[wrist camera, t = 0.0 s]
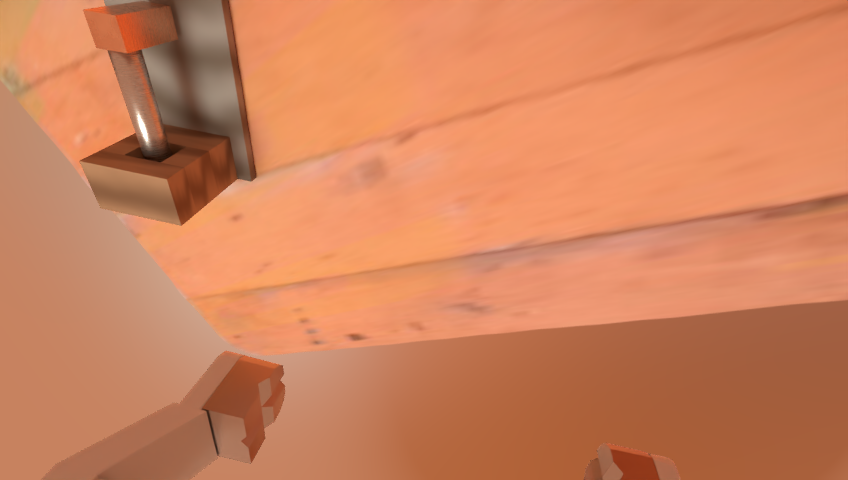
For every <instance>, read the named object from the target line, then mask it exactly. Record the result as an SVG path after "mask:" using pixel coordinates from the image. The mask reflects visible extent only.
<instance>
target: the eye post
mask: <svg viewBox="0 0 848 480" xmlns="http://www.w3.org/2000/svg"><path fill="white" fill-rule="evenodd" d="M137 1H146V2H152V3H157V4H163V5H169V6H170V7H171V11H172V15H173V19H174V24H175V28H176V32H177V36H178V39H177V40H174V41H170V42H166V43H163V44H159V45H156V46H152V47H149V48H145V49H142V53H143V56H144V59H145V63H146V66H147V70H148V73H149V77H150V80H151V83H152V87H153V90H154V94H155V97H156V101H157V104H158V107H159V111H160V114H161V118H162V121H163V125H164V128H165V131H166V135H167V138H168V142H169V145H170V149H171V152H172V156H171V157H169V158H167V159H166V160H164V161H163V162H156V161H151V160H146V159H144V156H143V153H142V150H141V147H140V144H139V141H138V138H137V135H136V133H135V134H133V135H131V136H129V137H127V138H125V139H123V140H121V141H119V142H117V143H115V144H113V145H111V146H109V147H107V148H105V149H103V150H101V151H99V152H97V153H95V154H92V155H90V156H88V157H86V158H84V159H82V160H80V164H81V166H82V168H83V170H84V172H85V175H86V177H87V179H88V181H89V183H90V186H91V188H92V190H93V192H94V195H95V197H96V199H97V201H98V203H99V206H100V208H102V209H107V210H111V211H116V212H121V213H125V214H130V215H134V216H139V217H143V218H148V219H153V220H157V221H162V222H166V223H171V224H176V225H180V226H182V225H183V224H184V223H185V222H186V221H188V220H189V219H190V218H191V217H192V216H194V215H195V214H196V213H197V212H198V211H200V210H201V209H202V208H203V207H204V206H206V205H207V204H208V203H209V202H210V201H211V200H213V199H214V198H215V197H216V196H217V195H219V194H220V193H221V192H222V191H223V190H225V189H226V188H227V187H228V186H229V185H231V184H232V183H233V182H234V181H235V180H237V179H242V180H247V181H253V180H254V179H255V178H256V174H255V168H254V162H253V155H252V149H251V142H250V136H249V130H248V123H247V117H246V111H245V104H244V98H243V92H242V85H241V79H240V73H239V66H238V60H237V54H236V47H235V41H234V35H233V28H232V22H231V16H230V9H229V3H228V0H104V2H105V5H106V6H111V5H118V4H124V3H131V2H137Z"/></svg>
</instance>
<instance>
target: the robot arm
mask: <svg viewBox="0 0 848 480" xmlns="http://www.w3.org/2000/svg"><path fill="white" fill-rule="evenodd" d="M283 375H284V371H283V366H282V365H279V364H275V363H271V362H267V361H264V360H260V359H256V358H252V357H248V356H245V355H241V354H237V353H233V352H229V351H225V352H223V353H222V354H220V355H219V356H218V357H217V358H216V360H215V361H214V362H213V364H211V366H210V367H209V368H208V369H207V371H206V372H205V373H204V374H203V375H202V377H201V378H200V379H199V381H198V382H197V383H196V384H195V385H194V386H193V388H192V389H191V390H190V391H189V393H188V394H187V395H186V396H185V398H184V399H183V400H182V401H181V402H180V404H178V403H172V404H170V405H168V406H166V407H164V408H162V409H161V410H158V411H157V412H155V413H153V414H151V415H149V416H147V417H145V418H143V419H141V420H139V421H137V422H136V423H134V424H132V425H130V426H128V427H126V428H124V429H122V430H120V431H118V432H117V433H114V434H113V435H111V436H109V437H107V438H105V439H103V440H101V441H99V442H97V443H95V444H93V445H92V446H90V447H88V448H86V449H84V450H82V451H80V452H78V453H76V454H74V455H72V456H71V457H69V458H67V459H65V460H63V461H61V462H59V463H57V464H56V465H55V466H54V467H53V468H52V469H51V470H50V471H49V472H48V473H47V474H46V475H45V476H44V477H43V478H42V479H41V480H190V479H191V478H193V477H194V476H195V475H197V474H198V473H199V472H200V471H202V470H203V469H204V468H206V467H207V466H208V465H210V464H211V463H212V462H214V461H215V460H216V459H217V458H218V456H220V457H224V458H229V459H233V460H237V461H242V462H246V463H250V464H251V463H252V461H253V459H254V458H255V456H256V454H257V452H258V450H259V449H260V447H261V445H262V443H263V441H264V440H265V432H264V428H265V427H267V426H269V425H270V424H272V423H273V422H274V421H275V420H276V418H277V416H278V414H279V412H280V409H281V406H282V404H283V401H284V395H285V385H284V384H283V383H282V382H281V381H280V380H281V378H282V376H283ZM597 452H598V458H596V459H594V460H591V461H590V462H589V464H588V466H587V468H586V471H585V477H584V480H681V479H680V476H679V473H678V471H677V468H676V465H675V464H674V462H673V461H672V460H671V459H670V458H667V457H663V456H658V455H654V454H649V453H646V452H644V451H639V450H635V449H631V448H626V447H621V446H617V445H613V444H608V443H604V444H602V445H601V446H600V447H599V448H598V450H597Z"/></svg>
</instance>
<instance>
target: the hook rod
mask: <svg viewBox="0 0 848 480" xmlns="http://www.w3.org/2000/svg"><path fill="white" fill-rule="evenodd" d="M83 11H84V14H85V17H86V20H87V23H88V25H89V28H90V31H91V34H92V37H93V39H94V42H95V45H96V48H100V49H106V50H108V53H109V56H110V59H111V62H112V65H113V68H114V71H115V74H116V77H117V80H118V83H119V86H120V88H121V91H122V94H123V97H124V100H125V103H126V106H127V109H128V112H129V115H130V118H131V121H132V124H133V127H134V130H135V133H136V135H137V138H138V141H139V144H140V147H141V150H142V153H143V156H144V159H146V160H151V161H156V162H163V161H164V160H166V159H167V158H169V157H171V156H172V152H171V149H170V145H169V142H168V138H167V135H166V131H165V128H164V125H163V121H162V118H161V114H160V111H159V107H158V104H157V101H156V97H155V94H154V90H153V87H152V83H151V80H150V77H149V73H148V70H147V66H146V63H145V59H144V56H143V53H142V49H145V48H149V47H152V46H156V45H159V44H163V43H166V42H170V41H174V40H177V39H178V36H177V32H176V28H175V24H174V19H173V15H172V11H171V7H170V6H169V5H163V4H157V3H152V2H146V1H137V2H131V3H124V4H118V5H111V6H104V7H98V8H91V9H85V10H83Z"/></svg>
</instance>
